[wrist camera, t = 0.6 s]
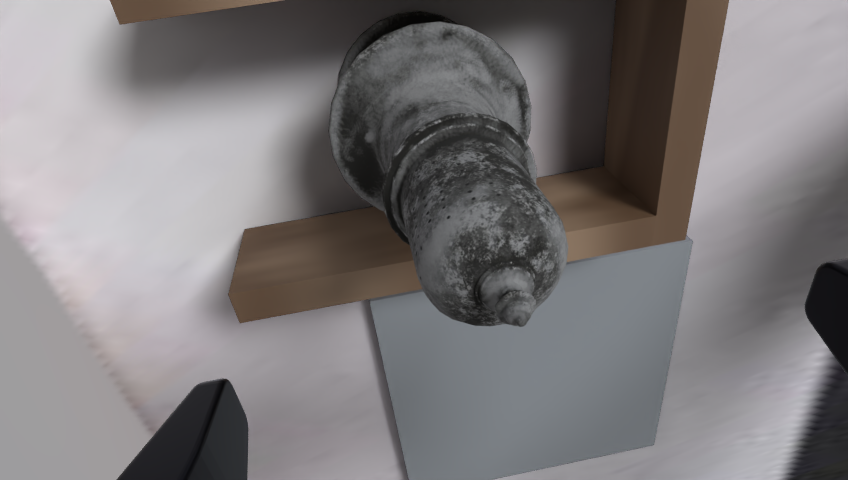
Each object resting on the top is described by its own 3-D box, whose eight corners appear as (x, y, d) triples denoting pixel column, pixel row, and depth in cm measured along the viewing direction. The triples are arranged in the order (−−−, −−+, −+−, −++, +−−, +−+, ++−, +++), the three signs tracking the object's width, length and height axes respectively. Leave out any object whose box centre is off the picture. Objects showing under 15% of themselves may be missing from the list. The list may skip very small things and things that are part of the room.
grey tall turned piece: (532, 64, 18) (779, 257, 8) (438, 198, 21) (543, 477, 11) (386, -40, 16) (486, 56, 6) (297, 124, 18) (261, 393, 8)
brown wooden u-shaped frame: (663, -120, 16) (752, -126, 13) (629, 187, 22) (685, 239, 18) (147, -47, 15) (96, -34, 12) (254, 255, 21) (239, 323, 17)
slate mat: (685, 233, 23) (692, 240, 23) (648, 436, 31) (653, 445, 30) (368, 292, 22) (369, 301, 22) (410, 486, 30) (412, 496, 30)
